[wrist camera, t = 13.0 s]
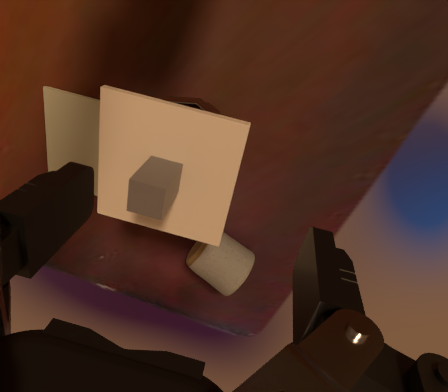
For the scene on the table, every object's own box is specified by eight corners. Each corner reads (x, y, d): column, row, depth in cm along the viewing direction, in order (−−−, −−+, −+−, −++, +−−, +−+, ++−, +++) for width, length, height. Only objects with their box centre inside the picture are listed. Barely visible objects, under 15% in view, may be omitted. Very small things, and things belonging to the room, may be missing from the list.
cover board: (104, 84, 30) (67, 100, 25) (251, 122, 29) (242, 146, 24) (101, 209, 36) (70, 241, 31) (220, 242, 35) (208, 280, 30)
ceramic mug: (215, 215, 52) (203, 245, 45) (258, 244, 53) (253, 278, 47) (180, 255, 57) (165, 288, 51) (220, 281, 58) (210, 317, 52)
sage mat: (45, 85, 47) (43, 86, 46) (151, 113, 46) (149, 114, 45) (51, 181, 54) (48, 182, 54) (142, 205, 53) (140, 207, 53)
